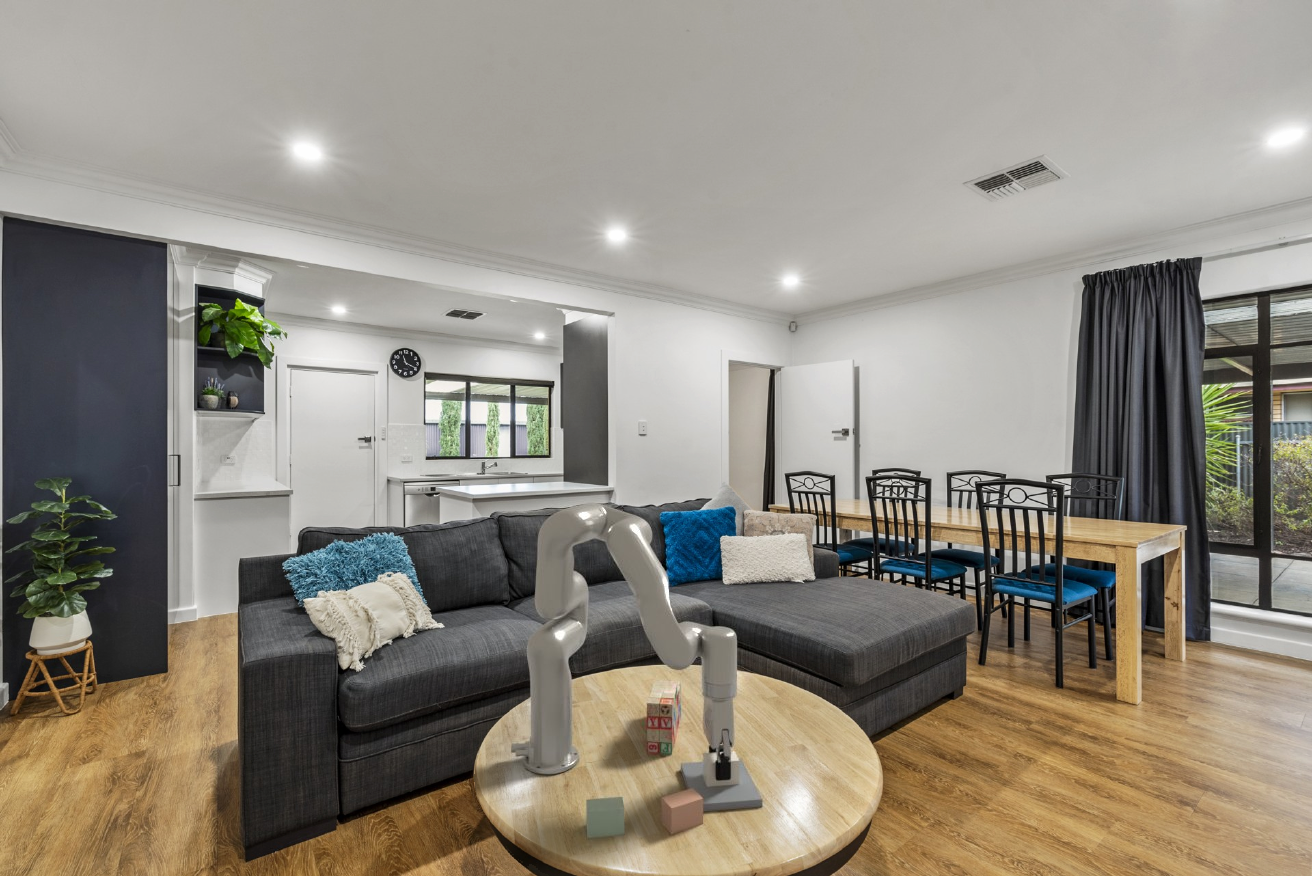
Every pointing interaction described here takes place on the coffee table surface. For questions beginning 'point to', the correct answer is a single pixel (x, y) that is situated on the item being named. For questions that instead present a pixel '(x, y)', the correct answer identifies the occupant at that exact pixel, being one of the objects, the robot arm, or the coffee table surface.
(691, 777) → the slate board
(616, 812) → the sage brick
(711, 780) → the ivory brick
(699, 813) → the terracotta brick
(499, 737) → the coffee table surface
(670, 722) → the stack of blocks
